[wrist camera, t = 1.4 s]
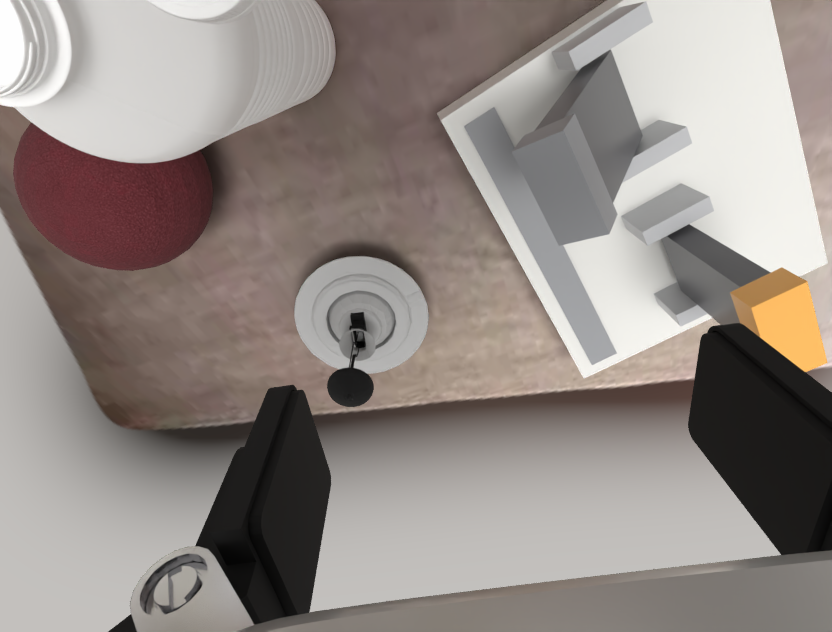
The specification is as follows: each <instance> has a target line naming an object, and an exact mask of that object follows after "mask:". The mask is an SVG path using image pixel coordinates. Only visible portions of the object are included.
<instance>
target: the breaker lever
mask: <svg viewBox="0 0 832 632" xmlns="http://www.w3.org/2000/svg"><path fill="white" fill-rule="evenodd" d="M661 241H662V243H663V246H664V248H665V251H666V253H667V256H668V259H669V261H670V264H671V266H672V269H673V271H674V274H675V276H676V279H677V282H678V284H679V287H680V289H681V291H682V292H683V293H684V294H685V295H687V296H688V297H689V298H690V299H691V300H693V301H694V302H695V303H696V304H697V305H698V306H700V307H701V308H702V309H703V310H704V311H705V312H707V313H708V314H709V315H710V316H711V317H712V318H714V319H715V320H716V321H717V322H718V323H720V324H721V325H725V324H732V323H741V324H743V325H745V326H746V327H747V328H749V329H750V330H751V331H752V332H754V333H755V334H756V335H758V336H759V337H760V338H761V339H763V340H764V341H765V342H767V343H768V344H769V345H771V346H772V347H773V348H774V349H776V350H777V351H778V352H780V353H781V354H782V355H784V356H785V357H786V358H787V359H789V360H790V361H791V362H793V363H794V364H795V365H797V366H798V367H799V368H800V369H802V370H803V371H804V372H807V371H809V370H811V369H814V368H816V367H819V366H821V365H823V364H826V363H827V359H826V355H825V351H824V347H823V343H822V339H821V335H820V331H819V327H818V323H817V319H816V315H815V310H814V306H813V302H812V298H811V294H810V290H809V286H808V282H807V281H805V280H804V279H802V278H800V277H798V276H797V275H795V274H793V273H791V272H789V271H788V270H786V269H784V268H782V267H781V268H779V269H777V270H775V271H773V272H769V271H767V270H766V269H764V268H762V267H761V266H759V265H757V264H755V263H754V262H752V261H750V260H749V259H747V258H745V257H744V256H742V255H740V254H739V253H737V252H735V251H734V250H732V249H730V248H729V247H727V246H725V245H723V244H722V243H720V242H718V241H717V240H715V239H713V238H712V237H710V236H708V235H707V234H705V233H703V232H702V231H700V230H698V229H697V228H695V227H693V226H691V225H690V224H689V225H687V226H685V227H683V228H681V229H679V230H677V231H675V232H673V233H671V234H669V235H668V236H666V237H664V238H662V239H661Z"/></svg>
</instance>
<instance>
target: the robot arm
mask: <svg viewBox="0 0 832 632" xmlns="http://www.w3.org/2000/svg"><path fill="white" fill-rule="evenodd" d="M688 428H689V432H690V435H691V437H692V439H693V440H694V442H695V443H696V444H697V445H698V447H699V448H700V449H701V451H702V452H703V453H704V455H705V456H706V457H707V459H708V460H709V461H710V463H711V464H712V465H713V466H714V468H715V469H716V470H717V472H718V473H719V474H720V475H721V477H722V478H723V479H724V481H725V482H726V483H727V485H728V486H729V487H730V489H731V490H732V491H733V492H734V494H735V495H736V496H737V498H738V499H739V500H740V501H741V503H742V504H743V505H744V507H745V508H746V509H747V511H748V512H749V513H750V515H751V516H752V517H753V518H754V520H755V521H756V522H757V524H758V525H759V526H760V527H761V529H762V530H763V531H764V533H765V534H766V535H767V536H768V538H769V539H770V541H771V542H772V543H773V544H774V546H775V547H776V548H777V550H778V551H779V552H780V554H781V555H779V556H770V557H761V558H752V559H744V560H735V561H726V562H717V563H707V564H698V565H689V566H680V567H671V568H662V569H653V570H645V571H636V572H627V573H619V574H610V575H601V576H593V577H584V578H576V579H568V580H559V581H551V582H542V583H533V584H525V585H516V586H508V587H501V588H492V589H483V590H475V591H468V592H460V593H451V594H443V595H435V596H426V597H418V598H410V599H402V600H394V601H386V602H379V603H372V604H365V605H358V606H351V607H343V608H337V609H330V610H322V611H315V612H310V613H309V611H310V605H311V599H312V593H313V588H314V582H315V576H316V569H317V564H318V558H319V552H320V546H321V540H322V534H323V528H324V523H325V517H326V511H327V505H328V499H329V493H330V487H331V475H330V470H329V467H328V464H327V461H326V458H325V455H324V451H323V448H322V445H321V442H320V439H319V436H318V433H317V430H316V426H315V423H314V420H313V418H312V414H311V411H310V408H309V405H308V401H307V398H306V395H305V393H304V391H303V390H297V389H296V387H295V386H294V385H288V386H281V387H274V388H270V389H268V391H267V393H266V396H265V398H264V401H263V403H262V406H261V408H260V410H259V413H258V415H257V418H256V420H255V423H254V425H253V428H252V430H251V432H250V435H249V437H248V440H247V442H246V445H245V447H241V448H240V449H238V450H237V451H236V453H235V455H234V457H233V459H232V461H231V464H230V466H229V468H228V471H227V473H226V476H225V478H224V480H223V483H222V485H221V487H220V490H219V492H218V494H217V497H216V499H215V501H214V504H213V506H212V508H211V511H210V513H209V515H208V518H207V520H206V522H205V525H204V527H203V529H202V532H201V534H200V536H199V539H198V541H197V543H196V546H194V547H185V548H182V549H179V550H176V551H174V552H172V553H170V554H168V555H166V556H165V557H163V558H161V559H160V560H159V561H158V562H156V563H155V564H154V565H153V566H151V567H150V568H149V570H148V571H147V572H146V573H145V574H144V575H143V576H142V577H141V579H140V580H139V582H138V584H137V585H136V587H135V589H134V590H133V594H132V597H131V601H130V609H131V615H129V616H128V617H127V618H126V619H124V620H123V621H122V622H120V623H119V624H118V625H116V626H115V627H114V628H112V629H111V630H110V631H109V632H832V392H830V391H829V390H828V389H826V388H825V387H824V386H822V385H821V384H820V383H818V382H817V381H816V380H815V379H813V378H812V377H811V376H809V375H808V374H807V373H806V372H804V371H803V370H802V369H800V368H799V367H798V366H797V365H795V364H794V363H793V362H791V361H790V360H789V359H787V358H786V357H785V356H784V355H782V354H781V353H780V352H778V351H777V350H776V349H774V348H773V347H772V346H771V345H769V344H768V343H767V342H765V341H764V340H763V339H761V338H760V337H759V336H758V335H756V334H755V333H754V332H752V331H751V330H750V329H749V328H747V327H746V326H745V325H743V324H741V323H732V324H725V325H718V326H712V327H711V328H710V329H709V330H708V333H706V334H703V335H702V337H701V340H700V347H699V354H698V361H697V368H696V374H695V381H694V388H693V395H692V401H691V408H690V416H689V422H688Z"/></svg>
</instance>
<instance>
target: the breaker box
mask: <svg viewBox="0 0 832 632" xmlns="http://www.w3.org/2000/svg"><path fill="white" fill-rule="evenodd" d="M608 50H611V51H612V54H613V56H614V59H615V62H616V65H617V67H618V70H619V73H620V75H621V78H622V81H623V84H624V86H625V89H626V92H627V94H628V97H629V100H630V102H631V105H632V108H633V111H634V113H635V116H636V119H637V121H638V124H639V127H640V130H641V132H642V135H643V136H642V139H641V141H640V143H639V146H638V148H637V150H636V152H635V155H634V157H633V159H632V161H631V164H630V166H629V168H628V170H627V173H626V175H625V177H624V180H623V182H622V184H621V186H620V189H619V191H618V193H617V195H616V198H615V200H614V202H613V204H614V207H615V209H616V211H617V214H618V215H617V217H616V220H615V222H614V224H613V227H612V229H611V232H610V234H608V235H603V236H599V237H595V238H591V239H586V240H582V241H578V242H574V243H569V244H565V245H561V246H559V245H558V243H557V241H556V239H555V237H554V235H553V233H552V231H551V229H550V227H549V225H548V223H547V221H546V219H545V217H544V215H543V213H542V211H541V209H540V207H539V205H538V203H537V201H536V199H535V197H534V195H533V193H532V191H531V189H530V188H529V186H528V184H527V182H526V180H525V178H524V176H523V174H522V172H521V170H520V168H519V166H518V164H517V162H516V160H515V158H514V156H513V154H512V150H513V149H514V148H515V147H516V145H517V144H518V143H519V141H520V140H521V139H522V137H523V136H524V135H526V134H528V133H531V132H533V131H534V130H535V129H536V128H537V126H538V125H539V124H540V122H541V121H542V120H543V118H544V117H545V116H546V114H547V113H548V112H549V110H550V109H551V108H552V106H553V105H554V104H555V102H556V101H557V100H558V98H559V97H560V96H561V94H562V93H563V92H564V90H565V89H566V88H567V86H568V85H569V84H570V82H571V81H572V80H573V78H574V77H575V76H576V74H577V73H578V72H579V70H580V69H581V68H582V67H583V66H585V65H586V64H588V63H590V62H591V61H593V60H594V59H596V58H597V57H599V56H601V55H602V54H604V53H605V52H607V51H608ZM437 115H438V117H439V118H440V120H441V122H442V124H443V126H444V127H445V129H446V131H447V133H448V135H449V136H450V138H451V140H452V142H453V144H454V145H455V147H456V149H457V151H458V153H459V154H460V156H461V158H462V160H463V162H464V163H465V165H466V167H467V169H468V171H469V172H470V174H471V176H472V178H473V180H474V181H475V183H476V185H477V187H478V189H479V190H480V192H481V194H482V196H483V198H484V199H485V201H486V203H487V205H488V207H489V208H490V210H491V212H492V214H493V216H494V217H495V219H496V221H497V223H498V225H499V226H500V228H501V230H502V232H503V234H504V235H505V237H506V239H507V241H508V243H509V244H510V246H511V248H512V250H513V252H514V253H515V255H516V257H517V259H518V261H519V262H520V264H521V266H522V268H523V270H524V271H525V273H526V275H527V277H528V279H529V281H530V282H531V284H532V286H533V288H534V290H535V291H536V293H537V295H538V297H539V299H540V300H541V302H542V304H543V306H544V308H545V309H546V311H547V313H548V315H549V317H550V318H551V320H552V322H553V324H554V326H555V327H556V329H557V331H558V333H559V335H560V336H561V338H562V340H563V342H564V344H565V345H566V347H567V349H568V351H569V353H570V354H571V356H572V358H573V360H574V362H575V363H576V365H577V367H578V369H579V371H580V372H581V374H582V376H583V378H586V377H588V376H590V375H593V374H595V373H597V372H599V371H601V370H603V369H605V368H607V367H609V366H612V365H614V364H616V363H618V362H620V361H622V360H624V359H626V358H628V357H631V356H633V355H635V354H637V353H639V352H641V351H643V350H645V349H647V348H650V347H652V346H654V345H656V344H658V343H660V342H662V341H664V340H666V339H669V338H671V337H673V336H675V335H677V334H679V333H681V332H683V331H685V330H688V329H690V328H692V327H694V326H696V325H698V324H700V323H702V322H704V321H707V320H709V319H711V318H712V317H711V316H710V315H709V314H708V313H707V312H705V311H704V310H703V309H702V308H701V307H700V306H698V305H697V304H696V303H695V302H694V301H693V300H691V299H690V298H689V297H688V296H687V295H685V294H684V293H683V292H682V291H681V289H680V287H679V284H678V282H677V279H676V276H675V274H674V271H673V269H672V266H671V264H670V261H669V259H668V256H667V253H666V251H665V248H664V246H663V243H662V241H661V239H662V238H664V237H666V236H668V235H669V234H671V233H673V232H675V231H677V230H679V229H681V228H683V227H685V226H687V225H689V224H690V225H691V226H693V227H695V228H697V229H698V230H700V231H702V232H703V233H705V234H707V235H708V236H710V237H712V238H713V239H715V240H717V241H718V242H720V243H722V244H723V245H725V246H727V247H729V248H730V249H732V250H734V251H735V252H737V253H739V254H740V255H742V256H744V257H745V258H747V259H749V260H750V261H752V262H754V263H755V264H757V265H759V266H761V267H762V268H764V269H766V270H767V271H769V272H773V271H775V270H777V269H779V268H781V267H782V268H784V269H786V270H788V271H789V272H791V273H793V274H795V275H797V276H798V277H800V276H802V275H804V274H806V273H808V272H810V271H812V270H814V269H816V268H819V267H821V266H823V265H825V264H827V263H828V262H827V258H826V253H825V249H824V244H823V240H822V235H821V230H820V226H819V221H818V217H817V212H816V208H815V203H814V198H813V194H812V189H811V185H810V180H809V176H808V171H807V167H806V162H805V157H804V153H803V148H802V144H801V139H800V135H799V130H798V125H797V121H796V116H795V112H794V107H793V103H792V98H791V94H790V89H789V84H788V80H787V75H786V71H785V66H784V62H783V57H782V52H781V48H780V43H779V39H778V34H777V30H776V25H775V21H774V16H773V11H772V7H771V2H770V0H606V1H605V2H603V3H602V4H600V5H599V6H597V7H596V8H594V9H593V10H591V11H590V12H588V13H587V14H585V15H584V16H582V17H581V18H579V19H578V20H576V21H575V22H573V23H572V24H570V25H569V26H567V27H566V28H564V29H563V30H561V31H560V32H558V33H557V34H555V35H554V36H552V37H551V38H549V39H548V40H546V41H545V42H543V43H542V44H540V45H539V46H537V47H536V48H534V49H533V50H531V51H530V52H528V53H527V54H525V55H524V56H522V57H521V58H519V59H518V60H516V61H515V62H513V63H512V64H510V65H509V66H507V67H505V68H504V69H502V70H501V71H499V72H498V73H496V74H495V75H493V76H492V77H490V78H489V79H487V80H486V81H484V82H483V83H481V84H480V85H478V86H477V87H475V88H474V89H472V90H471V91H469V92H468V93H466V94H465V95H463V96H462V97H460V98H459V99H457V100H456V101H454V102H453V103H451V104H450V105H448V106H447V107H445V108H444V109H442V110H441V111H439V112H438V113H437Z"/></svg>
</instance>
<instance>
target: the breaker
mask: <svg viewBox="0 0 832 632" xmlns="http://www.w3.org/2000/svg"><path fill="white" fill-rule="evenodd" d="M642 136H643V135H642V132H641V130H640V127H639V124H638V121H637V119H636V116H635V113H634V111H633V108H632V105H631V102H630V100H629V97H628V94H627V92H626V89H625V86H624V84H623V81H622V78H621V75H620V73H619V70H618V67H617V65H616V62H615V59H614V56H613V54H612V51H611V50H608V51H607V52H605V53H604V54H602V55H601V56H599V57H597V58H596V59H594V60H593V61H591V62H590V63H588V64H586V65H585V66H583V67H582V68H581V69H580V70H579V72H578V73H577V74H576V76H575V77H574V78H573V80H572V81H571V82H570V84H569V85H568V86H567V88H566V89H565V90H564V92H563V93H562V94H561V96H560V97H559V98H558V100H557V101H556V102H555V104H554V105H553V106H552V108H551V109H550V110H549V112H548V113H547V114H546V116H545V117H544V118H543V120H542V121H541V122H540V124H539V125H538V126H537V128H536V129H535V130H534V131H533V132H531V133H528V134H526V135H524V136H523V137H522V139H521V140H520V141H519V143H518V144H517V145H516V147H515V148H514V149H513V150H512V154H513V156H514V158H515V160H516V162H517V164H518V166H519V168H520V170H521V172H522V174H523V176H524V178H525V180H526V182H527V184H528V186H529V188H530V189H531V191H532V193H533V195H534V197H535V199H536V201H537V203H538V205H539V207H540V209H541V211H542V213H543V215H544V217H545V219H546V221H547V223H548V225H549V227H550V229H551V231H552V233H553V235H554V237H555V239H556V241H557V243H558V245H559V246H561V245H565V244H569V243H574V242H578V241H582V240H586V239H591V238H595V237H599V236H603V235H608V234H610V232H611V229H612V227H613V224H614V222H615V220H616V217H617V215H618V214H617V211H616V209H615V207H614V204H613V202H614V200H615V198H616V195H617V193H618V191H619V189H620V186H621V184H622V182H623V180H624V177H625V175H626V173H627V170H628V168H629V166H630V164H631V161H632V159H633V157H634V155H635V152H636V150H637V148H638V146H639V143H640V141H641V139H642Z"/></svg>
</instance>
